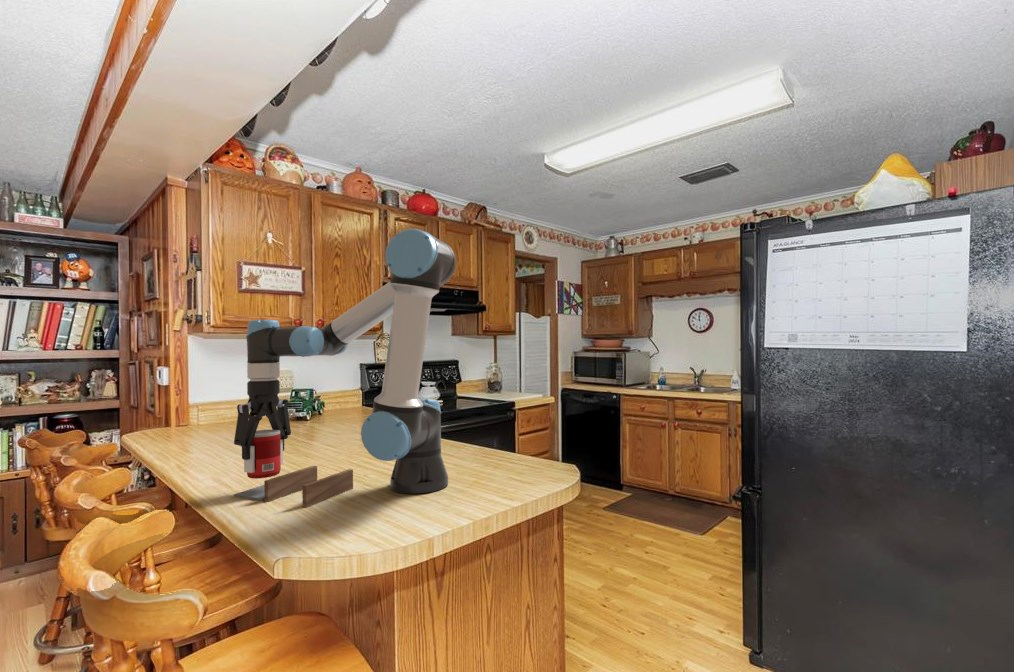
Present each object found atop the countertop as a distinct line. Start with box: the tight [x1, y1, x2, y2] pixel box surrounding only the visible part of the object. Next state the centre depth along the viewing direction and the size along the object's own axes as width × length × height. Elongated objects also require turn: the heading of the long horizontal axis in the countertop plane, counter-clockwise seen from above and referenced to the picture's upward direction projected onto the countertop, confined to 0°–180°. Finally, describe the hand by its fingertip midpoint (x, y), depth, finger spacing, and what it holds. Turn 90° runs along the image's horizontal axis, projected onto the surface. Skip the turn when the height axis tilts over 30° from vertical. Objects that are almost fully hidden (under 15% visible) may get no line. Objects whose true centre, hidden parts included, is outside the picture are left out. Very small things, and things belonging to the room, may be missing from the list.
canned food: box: [246, 429, 282, 480], centre depth 126 cm, size 8×8×11 cm
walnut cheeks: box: [263, 465, 354, 508], centre depth 124 cm, size 13×16×5 cm
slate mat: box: [232, 484, 265, 502], centre depth 126 cm, size 10×10×1 cm
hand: (264, 467), depth 126 cm, fingers closed on canned food, 8 cm apart
